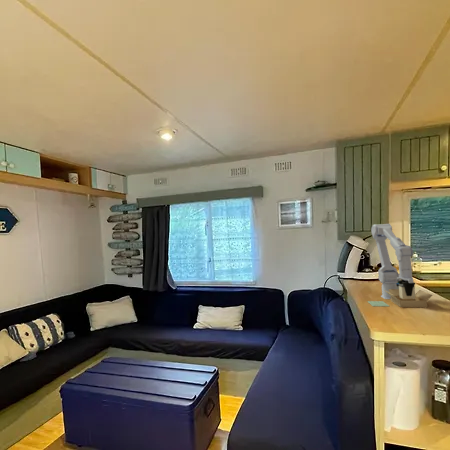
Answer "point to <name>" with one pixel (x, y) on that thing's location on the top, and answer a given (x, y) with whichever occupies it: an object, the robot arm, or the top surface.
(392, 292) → the carton
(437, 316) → the top surface
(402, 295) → the block
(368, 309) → the top surface
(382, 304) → the pad
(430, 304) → the top surface
